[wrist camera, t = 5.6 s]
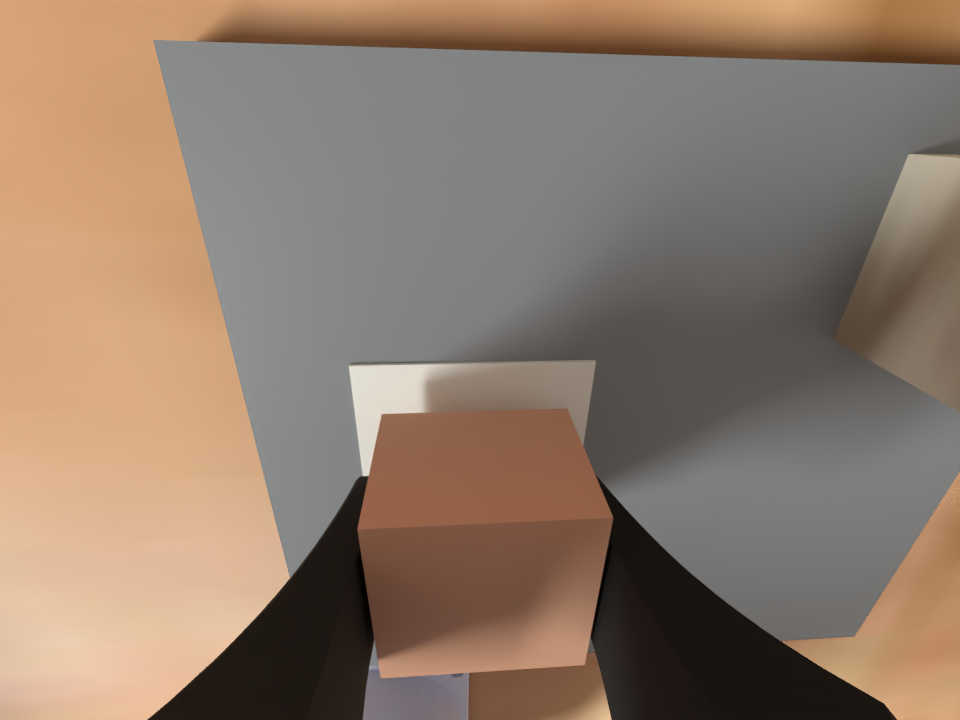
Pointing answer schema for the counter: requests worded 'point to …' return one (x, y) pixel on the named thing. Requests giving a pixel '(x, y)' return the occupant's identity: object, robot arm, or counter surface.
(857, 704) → the robot arm
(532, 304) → the board
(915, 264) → the top block
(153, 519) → the counter surface
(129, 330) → the counter surface
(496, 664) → the base block
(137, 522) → the counter surface
